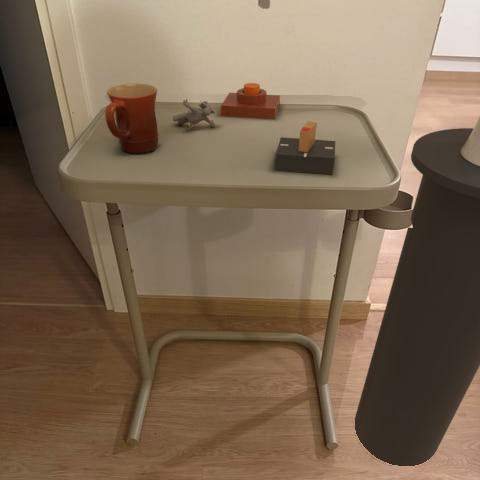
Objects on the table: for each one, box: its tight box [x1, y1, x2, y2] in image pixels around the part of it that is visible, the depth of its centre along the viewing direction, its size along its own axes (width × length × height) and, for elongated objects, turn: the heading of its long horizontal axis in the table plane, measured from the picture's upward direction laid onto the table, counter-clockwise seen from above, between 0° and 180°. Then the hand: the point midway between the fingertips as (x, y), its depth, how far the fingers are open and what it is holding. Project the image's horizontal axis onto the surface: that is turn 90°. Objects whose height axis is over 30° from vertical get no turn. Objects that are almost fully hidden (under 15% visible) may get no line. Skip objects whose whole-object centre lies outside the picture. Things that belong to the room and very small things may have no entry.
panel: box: [274, 136, 336, 176], centre depth 83 cm, size 10×9×3 cm
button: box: [243, 82, 261, 94], centre depth 103 cm, size 4×4×2 cm
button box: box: [220, 87, 281, 120], centre depth 105 cm, size 12×10×4 cm
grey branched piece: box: [172, 97, 217, 132], centre depth 95 cm, size 10×6×9 cm
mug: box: [104, 83, 159, 155], centre depth 84 cm, size 12×9×10 cm
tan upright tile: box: [298, 121, 317, 152], centre depth 80 cm, size 5×2×4 cm, turn 159°
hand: (263, 7), depth 93 cm, fingers closed
